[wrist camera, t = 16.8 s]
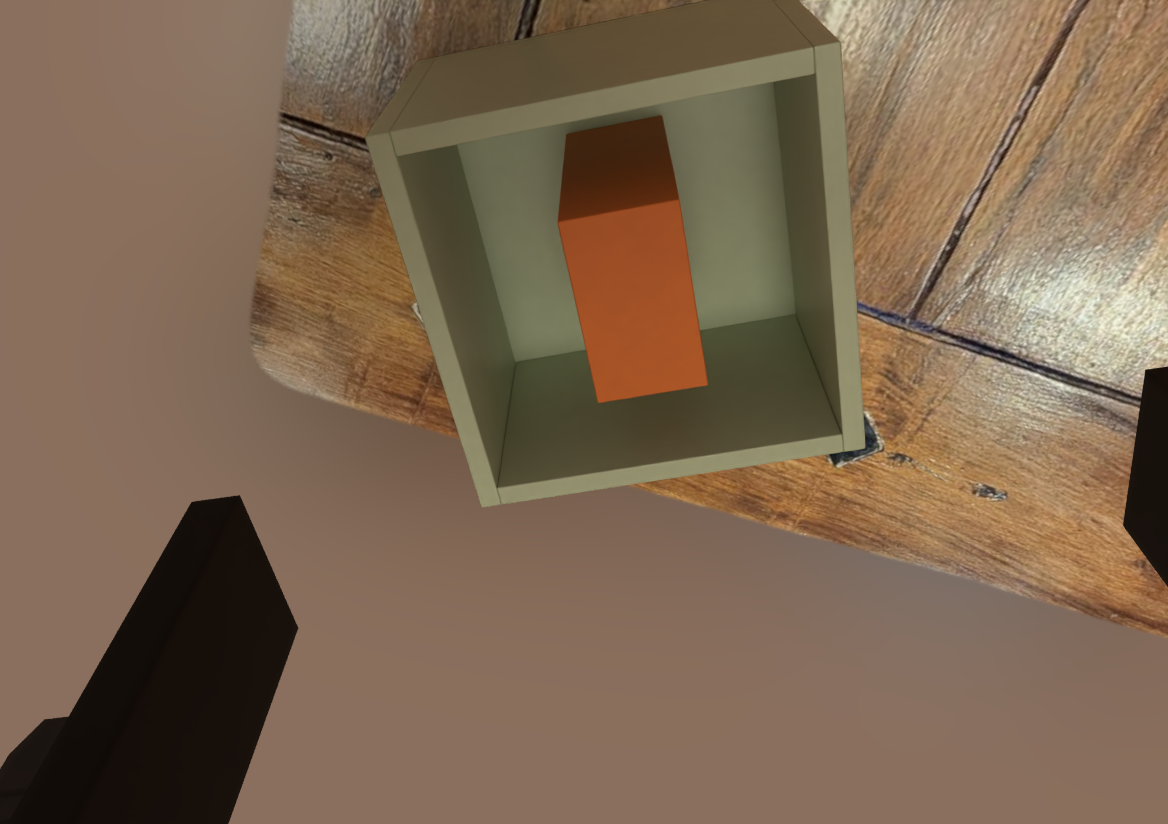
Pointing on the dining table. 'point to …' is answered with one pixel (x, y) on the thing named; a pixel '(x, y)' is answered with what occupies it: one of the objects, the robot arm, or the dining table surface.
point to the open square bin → (712, 229)
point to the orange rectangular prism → (629, 261)
